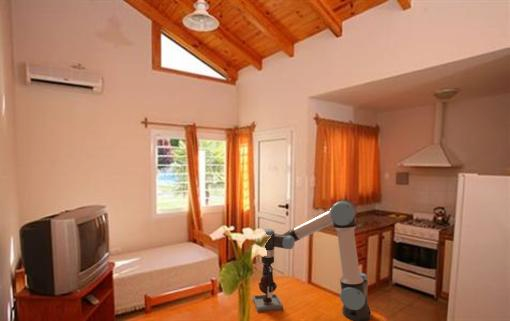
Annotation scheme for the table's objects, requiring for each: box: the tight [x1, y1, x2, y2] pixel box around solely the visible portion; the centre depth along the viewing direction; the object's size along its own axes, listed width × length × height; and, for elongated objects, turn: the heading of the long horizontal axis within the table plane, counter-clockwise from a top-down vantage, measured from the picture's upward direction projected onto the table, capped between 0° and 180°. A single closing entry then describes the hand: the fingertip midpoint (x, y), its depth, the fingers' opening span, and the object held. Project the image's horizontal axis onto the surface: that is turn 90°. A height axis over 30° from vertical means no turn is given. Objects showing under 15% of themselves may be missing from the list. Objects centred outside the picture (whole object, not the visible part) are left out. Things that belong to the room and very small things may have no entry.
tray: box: [252, 293, 284, 313], centre depth 163 cm, size 15×15×2 cm
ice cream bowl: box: [258, 275, 278, 303], centre depth 164 cm, size 11×11×15 cm
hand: (267, 292), depth 163 cm, fingers closed on ice cream bowl, 11 cm apart
